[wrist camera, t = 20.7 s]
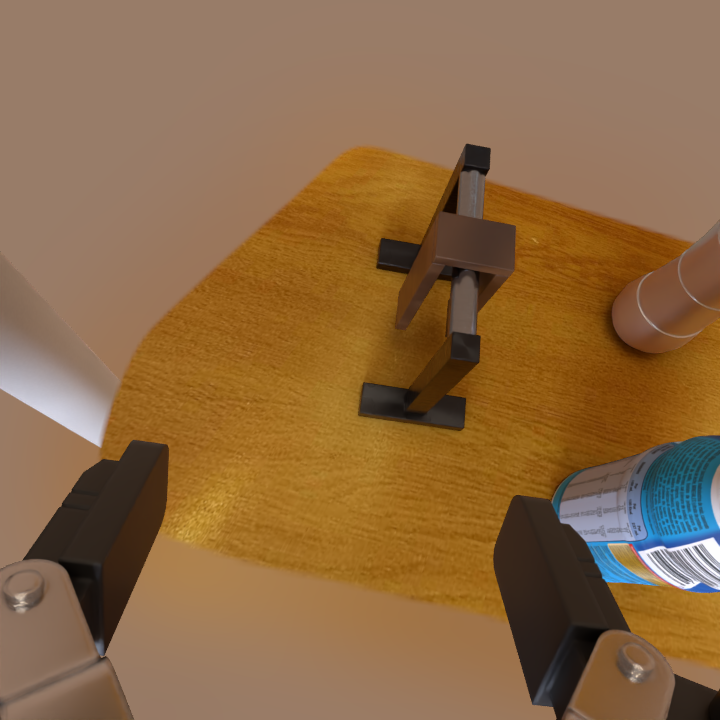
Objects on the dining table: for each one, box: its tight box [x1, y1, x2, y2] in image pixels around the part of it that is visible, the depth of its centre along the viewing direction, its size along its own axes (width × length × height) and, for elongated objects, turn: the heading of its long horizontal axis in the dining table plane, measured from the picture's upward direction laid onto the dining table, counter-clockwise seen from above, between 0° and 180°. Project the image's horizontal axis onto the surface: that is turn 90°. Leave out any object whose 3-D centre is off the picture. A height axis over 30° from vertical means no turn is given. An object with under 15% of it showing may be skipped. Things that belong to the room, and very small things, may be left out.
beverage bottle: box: [551, 435, 720, 593], centre depth 34 cm, size 8×8×20 cm
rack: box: [358, 144, 491, 431], centre depth 40 cm, size 8×15×14 cm, turn 173°
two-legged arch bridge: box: [395, 211, 516, 337], centre depth 38 cm, size 5×3×11 cm, turn 83°
